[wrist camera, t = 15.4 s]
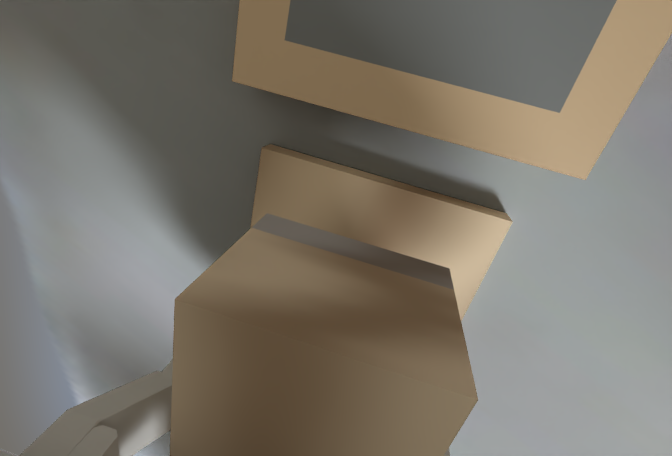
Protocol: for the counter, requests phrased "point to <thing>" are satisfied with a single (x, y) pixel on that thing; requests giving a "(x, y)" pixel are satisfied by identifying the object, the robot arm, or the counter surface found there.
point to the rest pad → (382, 214)
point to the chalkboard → (463, 67)
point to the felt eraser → (317, 351)
